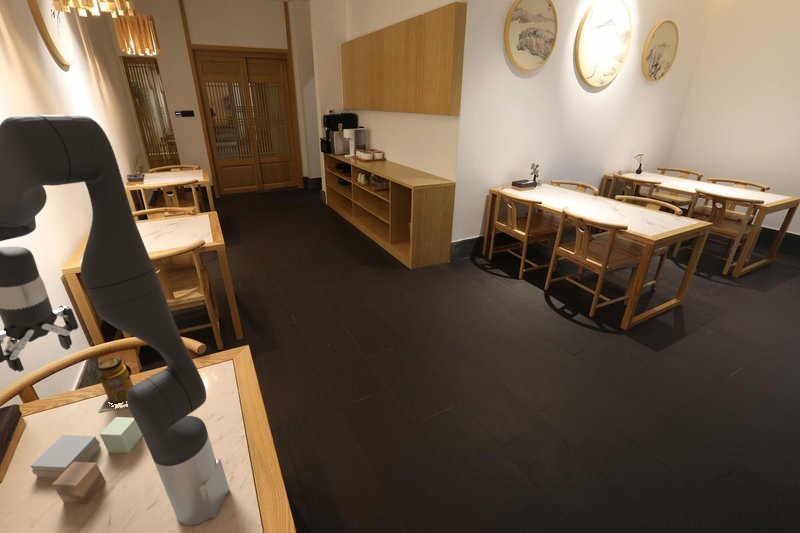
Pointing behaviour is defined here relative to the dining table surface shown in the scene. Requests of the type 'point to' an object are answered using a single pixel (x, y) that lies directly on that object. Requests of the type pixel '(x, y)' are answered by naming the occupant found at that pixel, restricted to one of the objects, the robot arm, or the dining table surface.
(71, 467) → the walnut block
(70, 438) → the slate base
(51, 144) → the robot arm
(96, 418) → the dining table surface
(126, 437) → the sage block
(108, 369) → the condiment
